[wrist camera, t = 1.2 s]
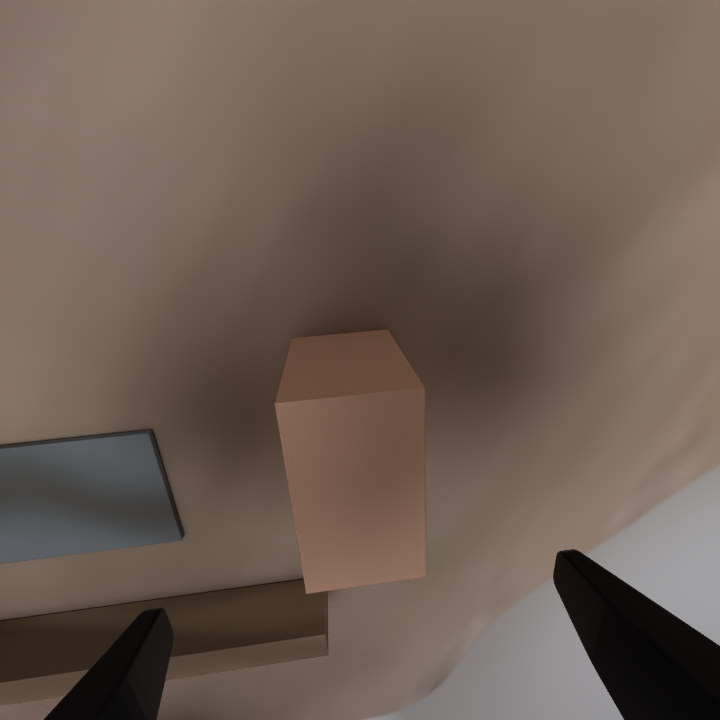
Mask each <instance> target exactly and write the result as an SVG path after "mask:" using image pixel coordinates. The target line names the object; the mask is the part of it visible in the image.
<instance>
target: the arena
mask: <svg viewBox="0 0 720 720" xmlns="http://www.w3.org/2000/svg"><path fill="white" fill-rule="evenodd" d="M183 537H184V533H183V530H182V527H181V524H180V520H179V517H178V514H177V511H176V507H175V504H174V501H173V498H172V494H171V491H170V488H169V485H168V481H167V478H166V475H165V472H164V468H163V465H162V462H161V459H160V456H159V452H158V449H157V446H156V443H155V439H154V436H153V433H152V430H142V431H133V432H123V433H114V434H104V435H95V436H86V437H76V438H67V439H57V440H48V441H39V442H29V443H20V444H11V445H1V446H0V564H2V563H9V562H17V561H25V560H33V559H41V558H48V557H56V556H64V555H72V554H80V553H87V552H95V551H103V550H111V549H119V548H127V547H134V546H142V545H150V544H158V543H166V542H173V541H181V540H182V539H183ZM159 607H163V608H164V609H165V610H166V612H167V615H168V618H169V621H170V623H171V626H172V629H173V632H174V641H173V647H172V652H171V656H170V661H169V665H168V670H167V674H166V679H165V680H170V679H177V678H183V677H190V676H196V675H203V674H210V673H216V672H223V671H229V670H236V669H242V668H249V667H255V666H262V665H268V664H275V663H281V662H288V661H294V660H301V659H307V658H314V657H320V656H327V655H328V600H327V591H323V592H316V593H309V594H306V589H305V583H304V579H301V580H294V581H287V582H280V583H273V584H265V585H258V586H251V587H244V588H236V589H229V590H222V591H215V592H207V593H200V594H193V595H186V596H179V597H171V598H164V599H157V600H150V601H142V602H135V603H128V604H121V605H113V606H106V607H99V608H92V609H85V610H77V611H70V612H63V613H56V614H48V615H41V616H34V617H27V618H20V619H12V620H5V621H0V706H1V705H8V704H14V703H21V702H27V701H34V700H40V699H47V698H53V697H60V696H66V694H67V693H68V692H69V691H70V690H71V689H72V688H73V687H74V686H75V685H76V683H77V682H78V681H79V680H80V679H81V678H82V677H83V676H84V675H85V674H86V672H87V671H88V670H89V669H90V668H91V667H92V666H93V665H94V664H95V662H96V661H97V660H98V659H99V658H100V657H101V656H102V655H103V654H104V653H105V651H106V650H107V649H108V648H109V647H110V646H111V645H112V644H113V643H114V642H115V640H116V639H117V638H118V637H119V636H120V635H121V634H122V633H123V632H124V630H125V629H126V628H127V627H128V626H129V625H130V624H131V623H132V622H133V621H134V619H135V618H136V617H137V616H138V615H139V614H140V613H141V612H143V611H144V610H147V609H152V608H159Z"/></svg>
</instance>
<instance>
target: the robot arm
mask: <svg viewBox="0 0 720 720" xmlns="http://www.w3.org/2000/svg"><path fill="white" fill-rule="evenodd" d="M553 580H554V584H555V587H556V589H557V591H558V593H559V595H560V597H561V599H562V602H563V604H564V606H565V608H566V610H567V612H568V614H569V617H570V619H571V621H572V623H573V625H574V627H575V629H576V631H577V633H578V636H579V637H580V640H581V642H582V644H583V646H584V648H585V650H586V652H587V654H588V656H589V658H590V660H591V662H592V664H593V666H594V668H595V670H596V671H597V673H598V675H599V677H600V678H601V680H602V682H603V683H604V685H605V687H606V689H607V691H608V692H609V694H610V696H611V697H612V699H613V701H614V703H615V704H616V706H617V708H618V709H619V711H620V713H621V715H622V717H623V718H624V720H720V646H719V645H717V644H716V643H715V642H713V641H712V640H710V639H708V638H707V637H706V636H704V635H703V634H701V633H700V632H698V631H697V630H695V629H694V628H692V627H691V626H689V625H688V624H686V623H685V622H683V621H682V620H681V619H679V618H678V617H676V616H674V615H673V614H672V613H670V612H669V611H667V610H666V609H664V608H663V607H661V606H660V605H658V604H657V603H655V602H654V601H652V600H651V599H649V598H648V597H646V596H645V595H643V594H642V593H640V592H639V591H637V590H636V589H634V588H633V587H631V586H630V585H628V584H627V583H625V582H624V581H622V580H621V579H619V578H618V577H617V576H615V575H613V574H612V573H611V572H609V571H608V570H606V569H605V568H603V567H602V566H600V565H599V564H597V563H596V562H594V561H593V560H591V559H590V558H588V557H587V556H585V555H584V554H582V553H581V552H579V551H577V550H574V549H571V550H564V551H559V552H558V553H557V555H556V561H555V567H554V574H553ZM173 641H174V632H173V629H172V626H171V623H170V621H169V618H168V615H167V612H166V610H165V609H164V608H163V607H159V608H152V609H147V610H144V611H143V612H141V613H140V614H139V615H138V616H137V617H136V618H135V619H134V621H133V622H132V623H131V624H130V625H129V626H128V627H127V628H126V629H125V630H124V632H123V633H122V634H121V635H120V636H119V637H118V638H117V639H116V640H115V642H114V643H113V644H112V645H111V646H110V647H109V648H108V649H107V650H106V651H105V653H104V654H103V655H102V656H101V657H100V658H99V659H98V660H97V661H96V662H95V664H94V665H93V666H92V667H91V668H90V669H89V670H88V671H87V672H86V674H85V675H84V676H83V677H82V678H81V679H80V680H79V681H78V682H77V683H76V685H75V686H74V687H73V688H72V689H71V690H70V691H69V692H68V693H67V694H66V696H65V697H64V698H63V699H62V700H61V701H60V702H59V703H58V704H57V706H56V707H55V708H54V709H53V710H52V711H51V712H50V713H49V714H48V715H47V717H46V718H45V719H44V720H156V719H157V715H158V710H159V706H160V701H161V697H162V692H163V688H164V683H165V679H166V674H167V670H168V665H169V661H170V656H171V652H172V647H173Z"/></svg>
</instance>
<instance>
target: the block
mask: <svg viewBox="0 0 720 720" xmlns="http://www.w3.org/2000/svg"><path fill="white" fill-rule="evenodd" d="M275 409H276V415H277V421H278V427H279V433H280V439H281V445H282V451H283V457H284V463H285V469H286V475H287V481H288V487H289V493H290V499H291V505H292V511H293V517H294V523H295V529H296V535H297V541H298V547H299V553H300V559H301V565H302V571H303V577H304V583H305V589H306V594H309V593H316V592H323V591H330V590H337V589H344V588H351V587H359V586H366V585H373V584H380V583H387V582H394V581H401V580H408V579H416V578H423V577H426V491H425V387H424V385H423V384H422V382H421V381H420V379H419V378H418V376H417V374H416V373H415V371H414V370H413V368H412V367H411V365H410V363H409V362H408V360H407V359H406V357H405V356H404V354H403V352H402V351H401V349H400V348H399V346H398V345H397V343H396V342H395V340H394V338H393V337H392V335H391V334H390V332H389V331H388V329H385V330H374V331H364V332H353V333H342V334H331V335H320V336H309V337H298V338H292V340H291V344H290V347H289V351H288V355H287V359H286V362H285V366H284V370H283V374H282V378H281V381H280V385H279V389H278V393H277V396H276V400H275Z"/></svg>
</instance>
